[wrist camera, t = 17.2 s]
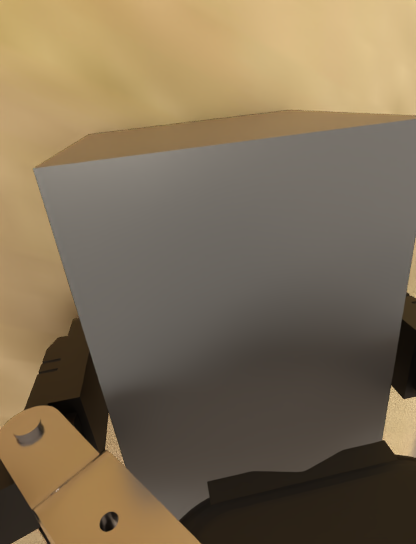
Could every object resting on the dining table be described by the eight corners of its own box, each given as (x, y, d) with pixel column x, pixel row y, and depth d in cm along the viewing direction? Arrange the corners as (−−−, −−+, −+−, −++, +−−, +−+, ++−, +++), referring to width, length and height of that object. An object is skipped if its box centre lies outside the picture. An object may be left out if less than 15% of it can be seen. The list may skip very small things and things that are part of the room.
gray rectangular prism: (290, 378, 17) (368, 522, 11) (152, 407, 16) (160, 576, 11) (289, 109, 12) (435, 116, 6) (88, 134, 11) (32, 168, 5)
